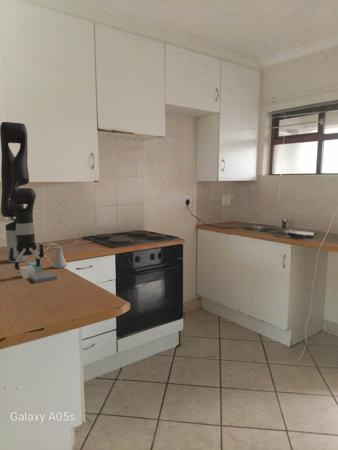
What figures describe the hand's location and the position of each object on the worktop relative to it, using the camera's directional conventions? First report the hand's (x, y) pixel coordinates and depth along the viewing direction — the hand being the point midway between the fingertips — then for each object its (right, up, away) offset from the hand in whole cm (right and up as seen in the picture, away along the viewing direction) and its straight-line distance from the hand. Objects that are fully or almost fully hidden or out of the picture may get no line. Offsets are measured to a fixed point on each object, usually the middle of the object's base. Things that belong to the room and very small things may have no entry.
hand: (27, 268), depth 148 cm
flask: (+9, -2, +17) cm, 19 cm away
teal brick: (0, -3, +9) cm, 10 cm away
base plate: (+8, -4, -4) cm, 10 cm away
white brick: (0, -4, +1) cm, 4 cm away
